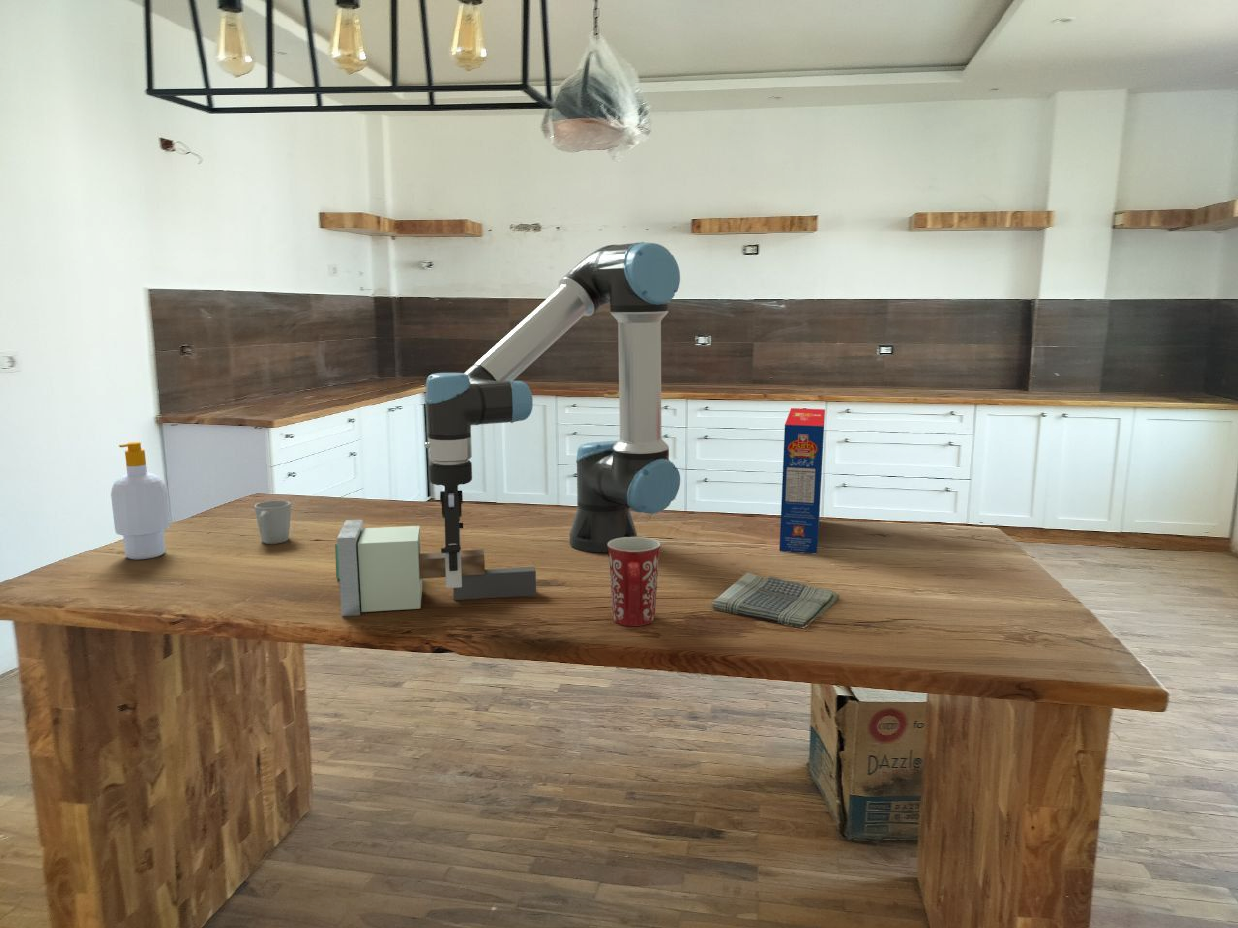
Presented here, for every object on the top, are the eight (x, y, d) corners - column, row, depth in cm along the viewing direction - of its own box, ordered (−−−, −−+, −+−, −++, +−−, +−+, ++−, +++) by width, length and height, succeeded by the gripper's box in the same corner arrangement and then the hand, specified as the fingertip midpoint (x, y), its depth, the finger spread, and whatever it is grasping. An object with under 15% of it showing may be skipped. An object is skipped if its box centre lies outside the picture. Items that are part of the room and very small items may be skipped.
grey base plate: (366, 591, 159) (362, 519, 157) (359, 615, 148) (355, 537, 145) (349, 592, 159) (345, 520, 156) (341, 616, 147) (336, 538, 145)
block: (422, 589, 160) (419, 525, 158) (420, 608, 151) (417, 540, 148) (367, 592, 158) (363, 528, 156) (361, 611, 149) (357, 543, 146)
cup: (299, 536, 196) (296, 500, 194) (280, 549, 186) (277, 511, 184) (266, 535, 196) (263, 499, 195) (245, 548, 186) (242, 510, 185)
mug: (608, 608, 152) (608, 535, 149) (659, 609, 151) (660, 536, 149) (603, 636, 139) (603, 557, 137) (659, 637, 139) (660, 558, 136)
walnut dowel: (484, 568, 158) (483, 549, 158) (485, 574, 155) (484, 555, 154) (395, 574, 156) (394, 555, 155) (394, 580, 152) (393, 561, 151)
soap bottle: (106, 558, 178) (93, 445, 174) (149, 545, 188) (138, 437, 183) (141, 564, 175) (129, 448, 170) (184, 551, 184) (173, 440, 179)
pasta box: (786, 519, 213) (791, 408, 208) (819, 521, 211) (825, 409, 206) (779, 551, 186) (784, 424, 181) (816, 553, 185) (823, 426, 179)
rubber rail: (534, 590, 161) (534, 566, 160) (536, 595, 158) (535, 570, 157) (453, 595, 158) (452, 571, 157) (453, 600, 155) (452, 575, 155)
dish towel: (805, 633, 142) (806, 615, 142) (709, 611, 152) (709, 594, 151) (841, 600, 158) (842, 584, 157) (751, 583, 167) (752, 567, 167)
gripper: (430, 448, 163) (434, 555, 167) (426, 475, 139) (431, 599, 143) (470, 447, 164) (473, 553, 168) (473, 474, 140) (476, 596, 144)
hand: (454, 574), depth 156 cm, fingers open, 13 cm apart
